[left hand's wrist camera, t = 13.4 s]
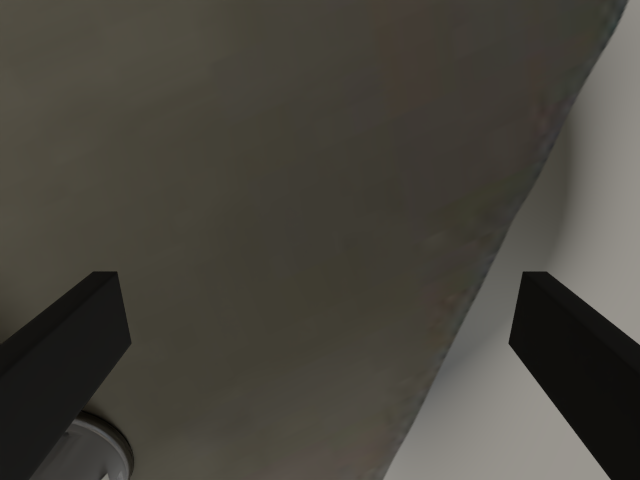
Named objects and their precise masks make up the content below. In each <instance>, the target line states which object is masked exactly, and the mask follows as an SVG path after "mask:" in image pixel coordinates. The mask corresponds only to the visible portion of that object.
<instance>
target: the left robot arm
mask: <svg viewBox="0 0 640 480" xmlns="http://www.w3.org/2000/svg"><path fill="white" fill-rule="evenodd" d="M130 345H131V338H130V333H129V328H128V323H127V318H126V313H125V309H124V304H123V299H122V294H121V289H120V284H119V279H118V274H117V272H92V273H91V274H90V275H88V276H87V277H86V278H85V279H83V280H82V281H81V282H80V283H78V284H77V285H76V286H74V287H73V288H72V289H71V290H69V291H68V292H67V293H66V294H64V295H63V296H62V297H61V298H59V299H58V300H57V301H55V302H54V303H53V304H52V305H50V306H49V307H48V308H47V309H45V310H44V311H43V312H42V313H40V314H39V315H38V316H36V317H35V318H34V319H33V320H31V321H30V322H29V323H28V324H26V325H25V326H24V327H23V328H21V329H20V330H19V331H17V332H16V333H15V334H14V335H12V336H11V337H10V338H9V339H7V340H6V341H5V342H4V343H2V344H1V345H0V480H129V479H130V477H131V475H132V472H133V468H134V458H133V454H132V451H131V448H130V446H129V444H128V443H127V441H126V440H125V438H124V437H123V436H122V435H121V434H120V433H119V432H118V431H117V430H116V429H115V428H114V427H112V426H111V425H110V424H108V423H107V422H105V421H103V420H101V419H100V418H97V417H95V416H93V415H90V414H88V413H85V412H81V410H82V409H83V407H84V406H85V405H86V403H87V402H88V401H89V399H90V398H91V397H92V395H93V394H94V393H95V391H96V390H97V389H98V387H99V386H100V385H101V383H102V382H103V381H104V379H105V378H106V377H107V375H108V374H109V373H110V371H111V370H112V369H113V367H114V366H115V365H116V363H117V362H118V361H119V359H120V358H121V357H122V355H123V354H124V353H125V351H126V350H127V349H128V347H129V346H130ZM509 345H510V346H511V347H512V349H513V350H514V351H515V353H516V354H517V355H518V357H519V358H520V359H521V361H522V362H523V363H524V365H525V366H526V367H527V369H528V370H529V371H530V373H531V374H532V375H533V377H534V378H535V379H536V381H537V382H538V383H539V385H540V386H541V387H542V389H543V390H544V391H545V393H546V394H547V395H548V397H549V398H550V399H551V401H552V402H553V403H554V405H555V406H556V407H557V409H558V410H559V411H560V413H561V414H562V415H563V417H564V418H565V419H566V421H567V422H568V423H569V425H570V426H571V427H572V429H573V430H574V431H575V433H576V434H577V435H578V437H579V438H580V439H581V440H582V442H583V443H584V445H585V446H586V447H587V449H588V450H589V451H590V452H591V454H592V455H593V457H594V458H595V459H596V461H597V462H598V463H599V465H600V466H601V467H602V468H603V470H604V471H605V472H606V474H607V475H608V476H609V478H610V479H611V480H640V345H639V344H638V343H636V342H635V341H634V340H633V339H631V338H630V337H629V336H628V335H626V334H625V333H624V332H622V331H621V330H620V329H619V328H617V327H616V326H615V325H614V324H612V323H611V322H610V321H609V320H607V319H606V318H605V317H604V316H602V315H601V314H600V313H598V312H597V311H596V310H595V309H593V308H592V307H591V306H590V305H588V304H587V303H586V302H584V301H583V300H582V299H581V298H579V297H578V296H577V295H576V294H574V293H573V292H572V291H571V290H569V289H568V288H567V287H566V286H564V285H563V284H562V283H560V282H559V281H558V280H557V279H555V278H554V277H553V276H552V275H550V274H549V273H548V272H523V274H522V279H521V284H520V289H519V294H518V299H517V304H516V309H515V313H514V318H513V324H512V328H511V333H510V338H509Z"/></svg>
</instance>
